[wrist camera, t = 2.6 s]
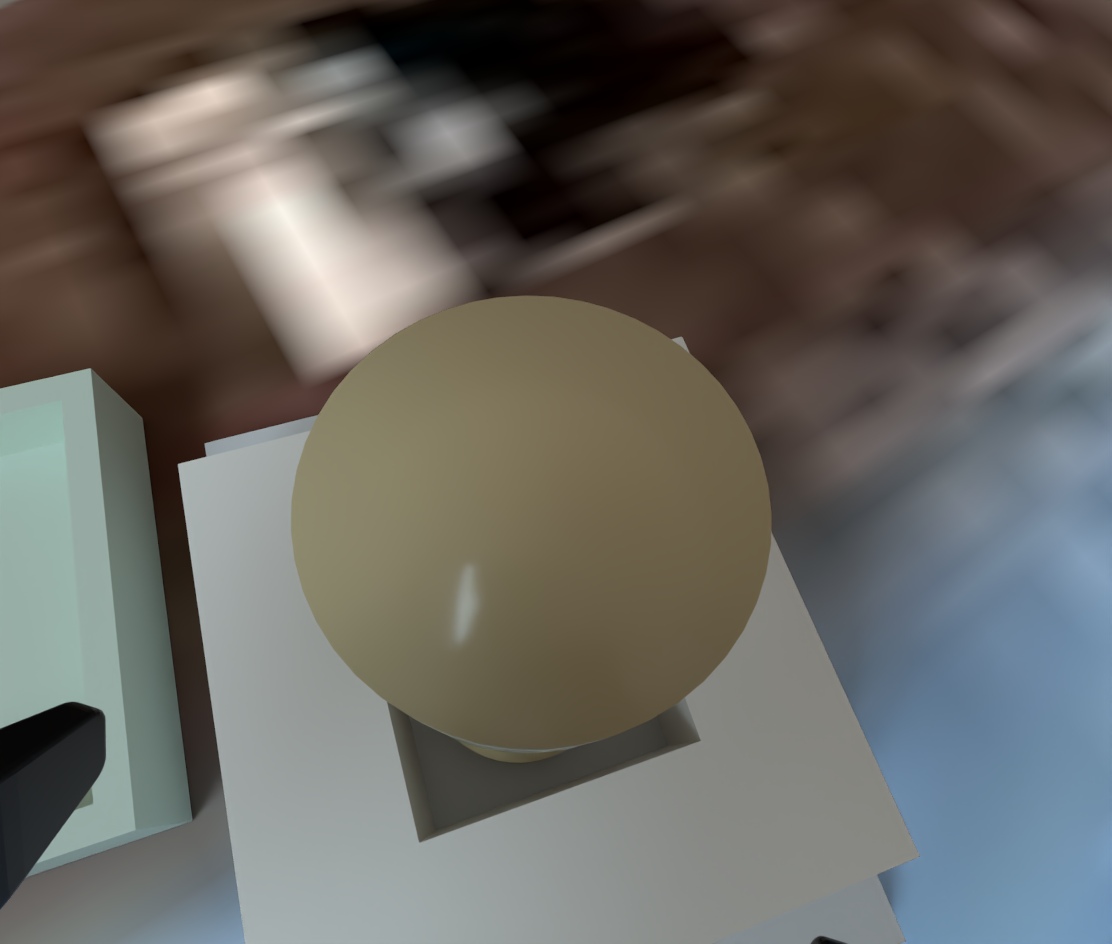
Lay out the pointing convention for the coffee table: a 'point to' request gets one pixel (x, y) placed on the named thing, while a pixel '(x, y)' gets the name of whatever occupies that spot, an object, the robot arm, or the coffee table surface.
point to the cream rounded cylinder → (531, 523)
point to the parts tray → (88, 602)
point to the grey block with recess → (522, 776)
